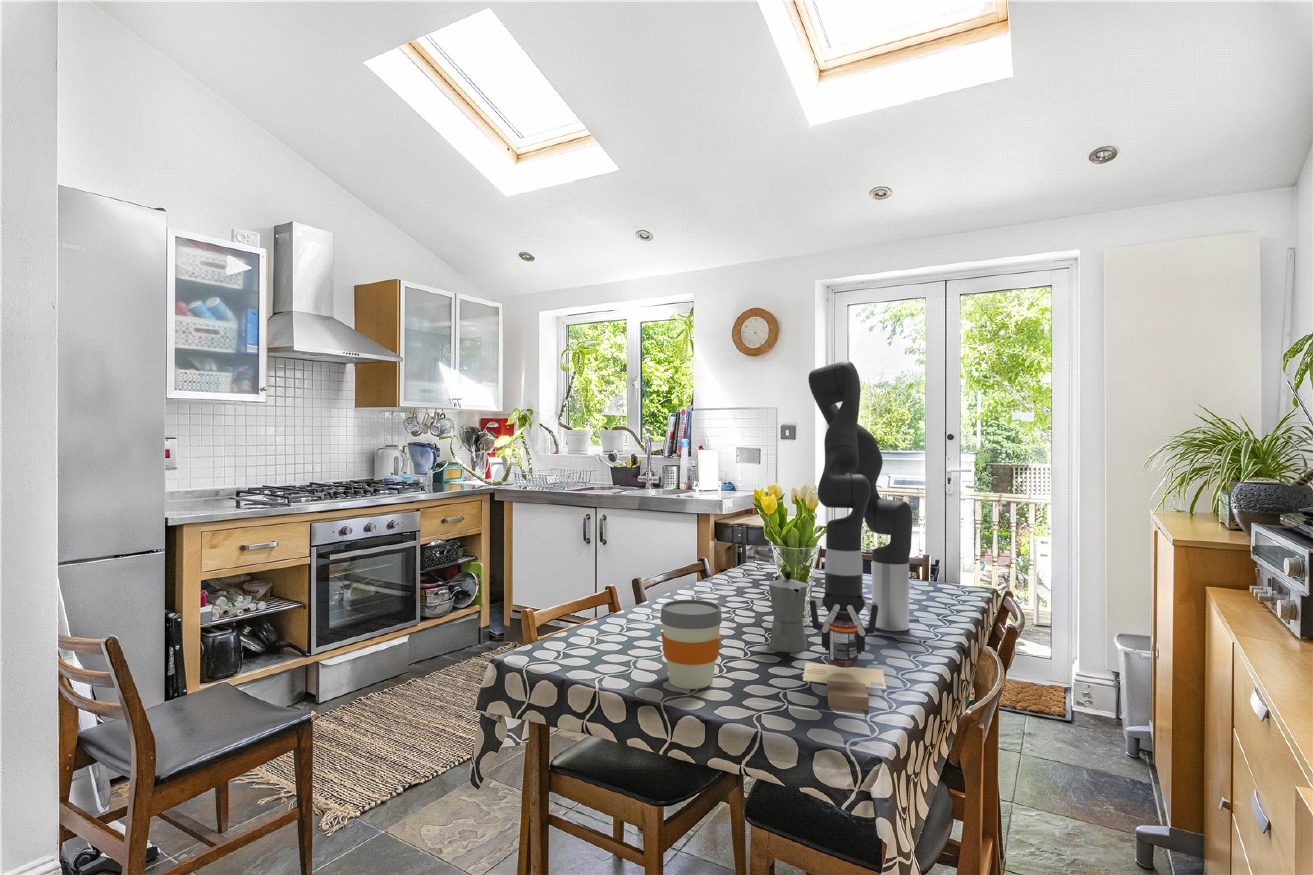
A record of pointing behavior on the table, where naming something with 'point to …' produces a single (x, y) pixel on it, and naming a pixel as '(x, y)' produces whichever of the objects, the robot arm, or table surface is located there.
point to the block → (847, 695)
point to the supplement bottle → (843, 641)
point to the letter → (844, 675)
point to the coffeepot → (787, 614)
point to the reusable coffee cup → (691, 641)
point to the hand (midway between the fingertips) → (843, 651)
